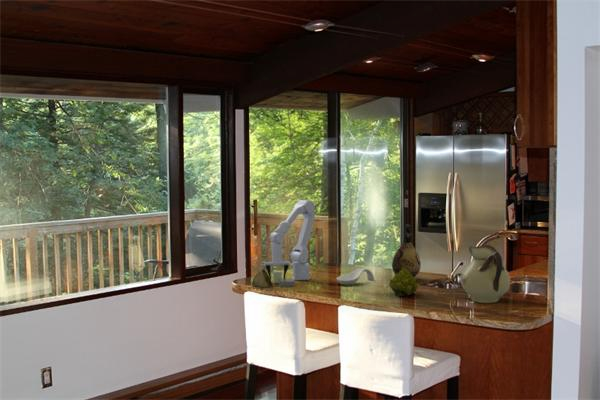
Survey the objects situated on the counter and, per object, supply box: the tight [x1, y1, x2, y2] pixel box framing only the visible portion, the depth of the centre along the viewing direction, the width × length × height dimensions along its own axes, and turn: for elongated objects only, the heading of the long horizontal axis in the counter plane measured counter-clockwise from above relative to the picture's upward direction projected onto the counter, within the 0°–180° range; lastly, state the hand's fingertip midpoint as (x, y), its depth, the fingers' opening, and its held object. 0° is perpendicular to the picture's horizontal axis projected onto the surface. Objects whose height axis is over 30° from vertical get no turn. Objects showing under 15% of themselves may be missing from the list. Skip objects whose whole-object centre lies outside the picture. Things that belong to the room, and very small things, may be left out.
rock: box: [251, 268, 274, 288], centre depth 384 cm, size 11×9×10 cm
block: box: [272, 270, 283, 284], centre depth 395 cm, size 4×4×6 cm
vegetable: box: [388, 267, 420, 297], centre depth 355 cm, size 15×16×15 cm
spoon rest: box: [336, 268, 375, 286], centre depth 389 cm, size 24×12×7 cm, turn 131°
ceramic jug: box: [391, 224, 422, 277], centre depth 396 cm, size 17×15×30 cm
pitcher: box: [460, 244, 511, 304], centre depth 337 cm, size 22×24×25 cm
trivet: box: [278, 278, 295, 288], centre depth 386 cm, size 8×8×3 cm
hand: (277, 278), depth 395 cm, fingers open, 7 cm apart
